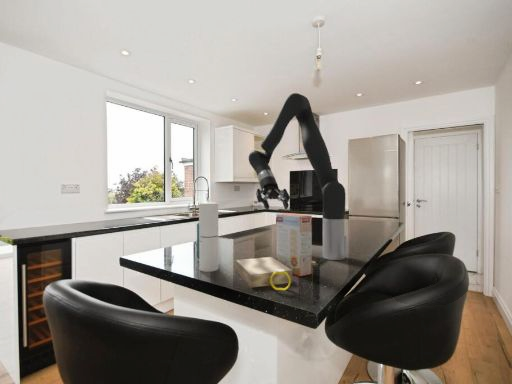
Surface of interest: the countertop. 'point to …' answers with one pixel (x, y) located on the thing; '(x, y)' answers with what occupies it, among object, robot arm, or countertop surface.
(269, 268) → the oak plinth
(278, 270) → the yellow ring
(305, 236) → the cracker box
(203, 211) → the cylindrical container
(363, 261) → the countertop surface
